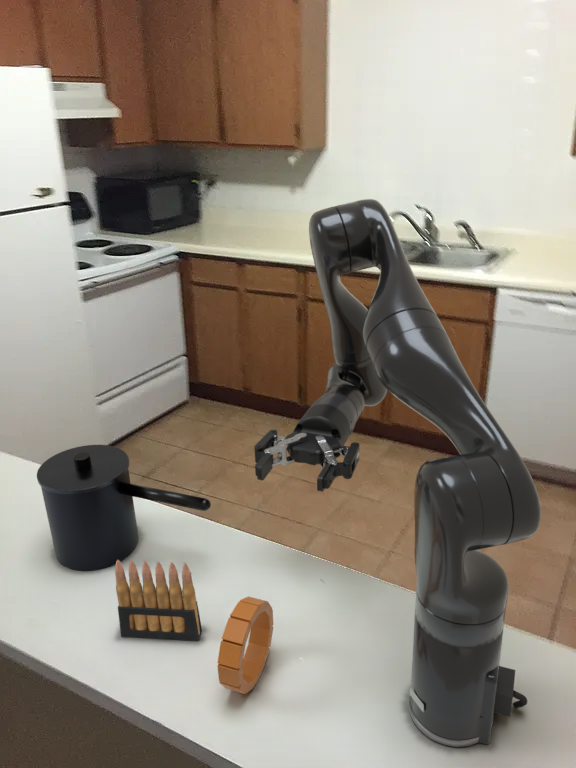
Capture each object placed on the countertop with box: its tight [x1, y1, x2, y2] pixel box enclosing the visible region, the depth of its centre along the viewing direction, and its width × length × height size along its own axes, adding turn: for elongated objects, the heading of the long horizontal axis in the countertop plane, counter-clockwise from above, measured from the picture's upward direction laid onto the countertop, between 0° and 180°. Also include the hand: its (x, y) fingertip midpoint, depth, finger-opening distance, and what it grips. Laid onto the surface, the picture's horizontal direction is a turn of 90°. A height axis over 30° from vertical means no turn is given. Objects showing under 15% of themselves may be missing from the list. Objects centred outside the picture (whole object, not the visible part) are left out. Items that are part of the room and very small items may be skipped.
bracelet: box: [217, 596, 274, 695], centre depth 80 cm, size 3×10×10 cm, turn 159°
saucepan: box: [36, 444, 212, 572], centre depth 102 cm, size 28×14×16 cm, turn 69°
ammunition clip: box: [114, 559, 203, 642], centre depth 87 cm, size 11×2×12 cm, turn 84°
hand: (289, 480), depth 88 cm, fingers open, 8 cm apart
